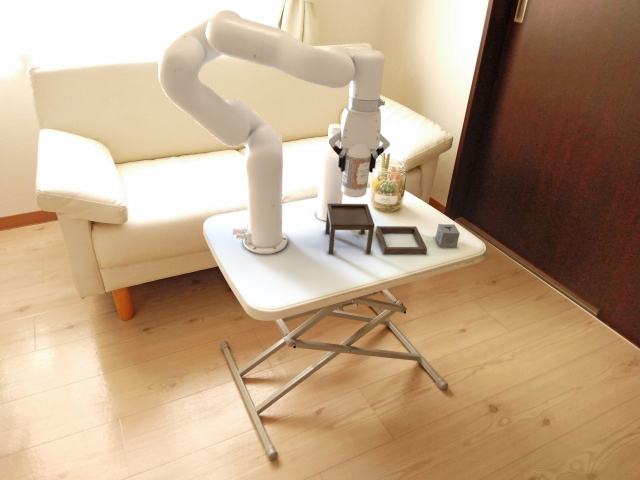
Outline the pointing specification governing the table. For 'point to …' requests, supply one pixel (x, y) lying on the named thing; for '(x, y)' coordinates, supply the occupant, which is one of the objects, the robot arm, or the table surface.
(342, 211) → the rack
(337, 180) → the bottle
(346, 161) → the bath foam
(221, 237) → the table surface
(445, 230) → the dice cube
